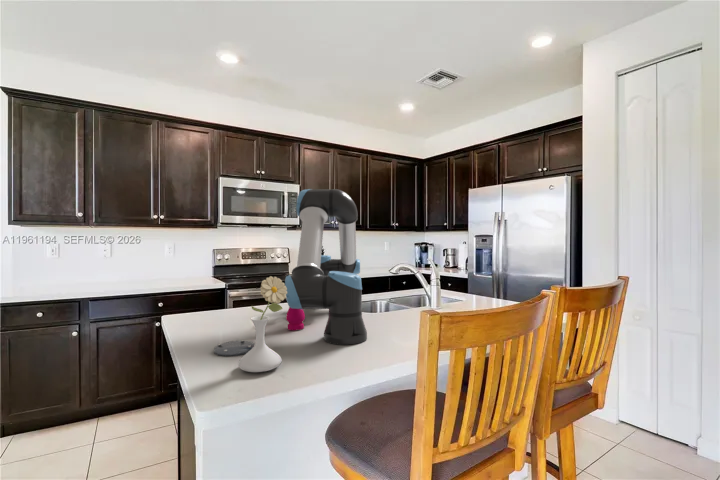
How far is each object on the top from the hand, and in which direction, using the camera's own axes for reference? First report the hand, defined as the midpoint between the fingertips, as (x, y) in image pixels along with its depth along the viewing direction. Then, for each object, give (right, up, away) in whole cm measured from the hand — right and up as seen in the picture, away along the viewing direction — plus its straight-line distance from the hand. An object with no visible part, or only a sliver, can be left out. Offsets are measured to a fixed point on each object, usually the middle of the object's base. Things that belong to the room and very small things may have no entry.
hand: (302, 297), depth 146 cm
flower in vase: (-3, -12, -49) cm, 51 cm away
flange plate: (-16, -11, -34) cm, 39 cm away
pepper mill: (-1, -11, -8) cm, 14 cm away
